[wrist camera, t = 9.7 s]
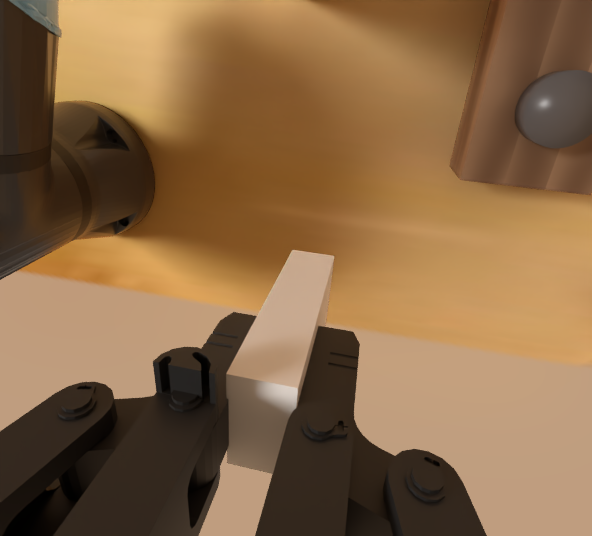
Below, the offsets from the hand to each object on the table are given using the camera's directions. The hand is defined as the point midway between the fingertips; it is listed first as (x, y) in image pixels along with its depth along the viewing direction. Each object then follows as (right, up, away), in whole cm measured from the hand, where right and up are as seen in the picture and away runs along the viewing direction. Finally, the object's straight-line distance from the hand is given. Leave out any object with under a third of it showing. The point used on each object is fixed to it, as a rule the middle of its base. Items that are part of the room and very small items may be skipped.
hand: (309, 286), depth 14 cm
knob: (+19, +14, +19) cm, 30 cm away
